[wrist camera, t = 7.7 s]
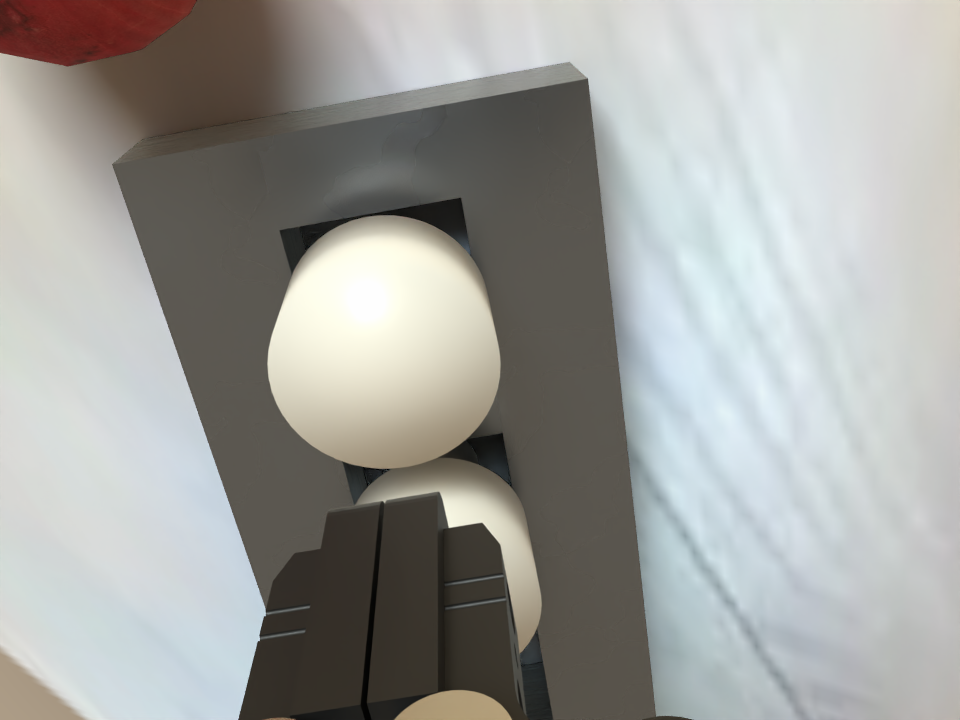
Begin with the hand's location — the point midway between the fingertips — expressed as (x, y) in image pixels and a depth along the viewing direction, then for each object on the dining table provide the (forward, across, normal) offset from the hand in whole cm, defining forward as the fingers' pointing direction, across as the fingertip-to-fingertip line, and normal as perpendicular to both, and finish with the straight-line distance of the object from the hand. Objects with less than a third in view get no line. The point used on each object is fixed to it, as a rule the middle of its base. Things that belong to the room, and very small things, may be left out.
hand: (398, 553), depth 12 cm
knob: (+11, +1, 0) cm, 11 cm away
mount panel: (+12, +1, +6) cm, 13 cm away
